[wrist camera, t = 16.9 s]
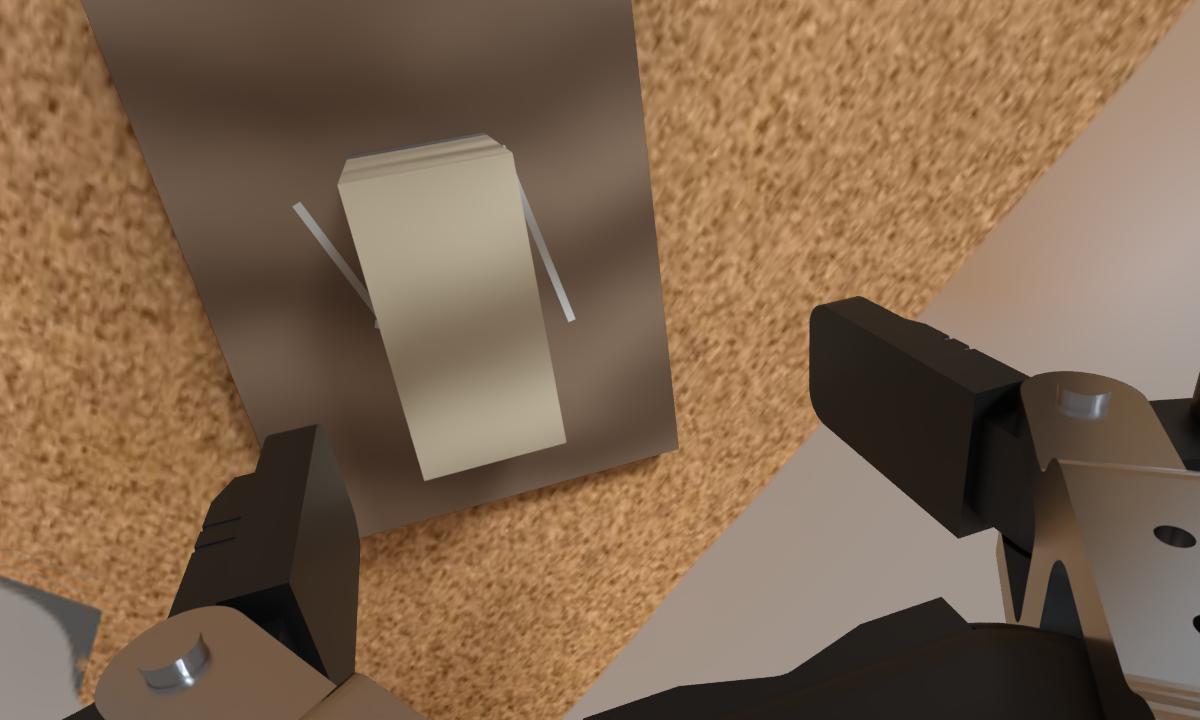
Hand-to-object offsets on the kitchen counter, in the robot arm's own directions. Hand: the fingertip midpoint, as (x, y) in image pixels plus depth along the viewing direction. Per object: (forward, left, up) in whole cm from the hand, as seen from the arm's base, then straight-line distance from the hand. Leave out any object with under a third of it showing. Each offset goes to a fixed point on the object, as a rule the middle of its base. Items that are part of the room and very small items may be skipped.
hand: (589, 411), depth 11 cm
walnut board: (+2, -1, -17) cm, 17 cm away
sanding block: (+2, -1, -15) cm, 15 cm away
